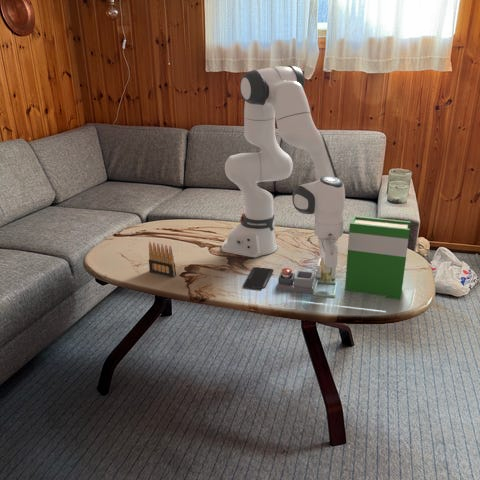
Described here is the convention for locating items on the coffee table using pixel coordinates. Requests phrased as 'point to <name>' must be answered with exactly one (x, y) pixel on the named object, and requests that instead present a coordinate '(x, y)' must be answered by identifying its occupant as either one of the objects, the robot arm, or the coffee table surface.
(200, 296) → the coffee table surface
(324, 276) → the cell
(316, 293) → the pale green rectangular frame
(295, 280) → the grey socket holder
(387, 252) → the hardback book
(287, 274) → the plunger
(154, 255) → the ammunition clip
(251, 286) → the phone
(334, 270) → the white square bin
